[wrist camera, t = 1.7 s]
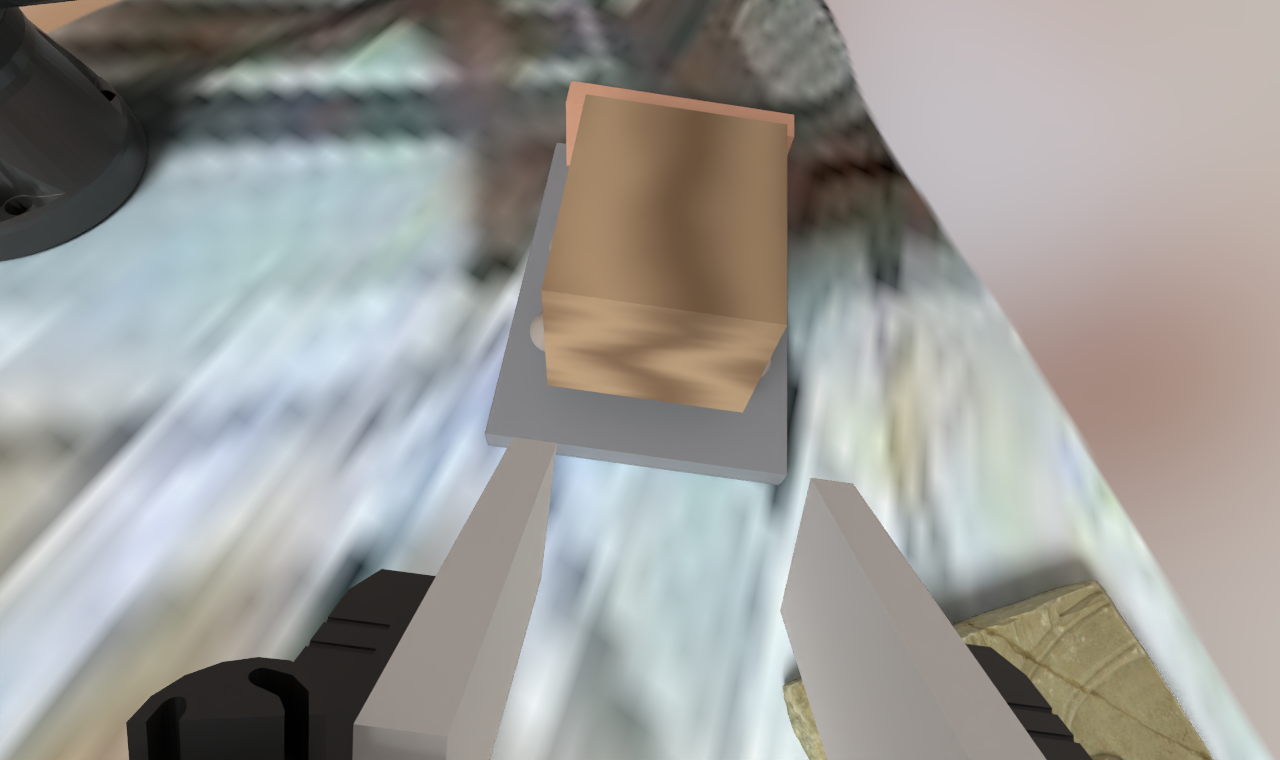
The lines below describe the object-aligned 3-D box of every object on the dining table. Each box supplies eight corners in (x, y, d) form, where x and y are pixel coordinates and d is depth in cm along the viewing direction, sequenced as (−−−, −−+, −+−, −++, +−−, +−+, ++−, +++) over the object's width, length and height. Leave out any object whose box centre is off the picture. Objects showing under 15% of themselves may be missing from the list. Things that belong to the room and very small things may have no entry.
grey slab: (488, 445, 36) (472, 388, 30) (557, 159, 47) (555, 78, 41) (779, 484, 37) (817, 436, 31) (781, 192, 47) (809, 117, 42)
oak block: (517, 402, 36) (498, 283, 27) (555, 232, 42) (551, 89, 33) (764, 436, 36) (828, 331, 27) (767, 263, 42) (821, 129, 33)
